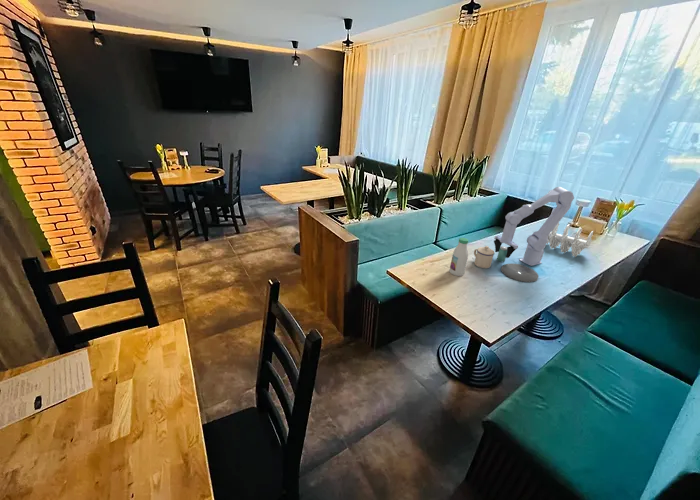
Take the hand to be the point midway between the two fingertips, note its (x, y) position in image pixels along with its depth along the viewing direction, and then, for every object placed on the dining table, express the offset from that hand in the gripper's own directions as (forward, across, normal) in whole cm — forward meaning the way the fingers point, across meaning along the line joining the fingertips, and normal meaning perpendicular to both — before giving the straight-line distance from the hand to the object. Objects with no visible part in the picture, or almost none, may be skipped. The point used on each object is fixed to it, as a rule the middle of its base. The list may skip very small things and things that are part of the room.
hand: (502, 254), depth 171 cm
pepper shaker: (+4, 0, 0) cm, 4 cm away
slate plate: (+3, +15, -3) cm, 16 cm away
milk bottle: (+4, +2, -35) cm, 35 cm away
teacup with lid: (+4, -1, -15) cm, 15 cm away
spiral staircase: (+4, +5, +46) cm, 47 cm away
